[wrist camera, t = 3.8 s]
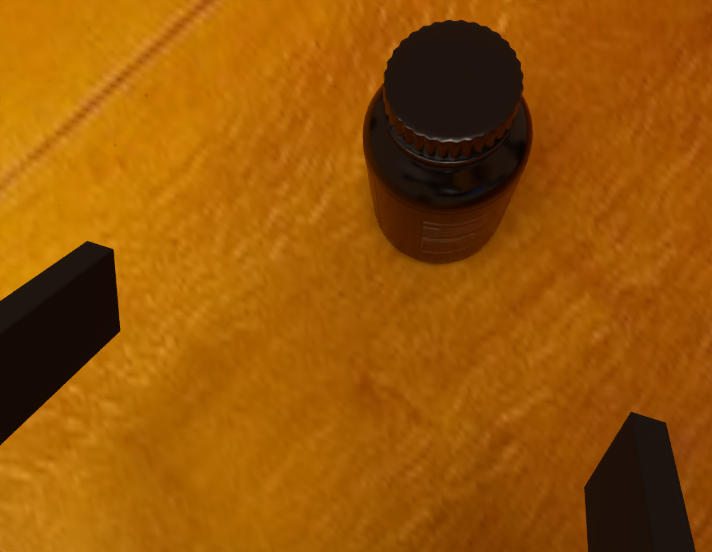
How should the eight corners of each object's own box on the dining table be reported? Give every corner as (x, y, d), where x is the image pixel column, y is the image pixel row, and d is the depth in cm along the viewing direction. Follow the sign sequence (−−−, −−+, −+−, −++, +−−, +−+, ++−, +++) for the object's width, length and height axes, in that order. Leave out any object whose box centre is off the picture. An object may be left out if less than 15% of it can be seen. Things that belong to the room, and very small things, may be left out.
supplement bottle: (520, 171, 31) (588, 28, 20) (473, 285, 30) (516, 206, 18) (402, 128, 32) (400, -31, 21) (353, 236, 31) (321, 133, 19)
